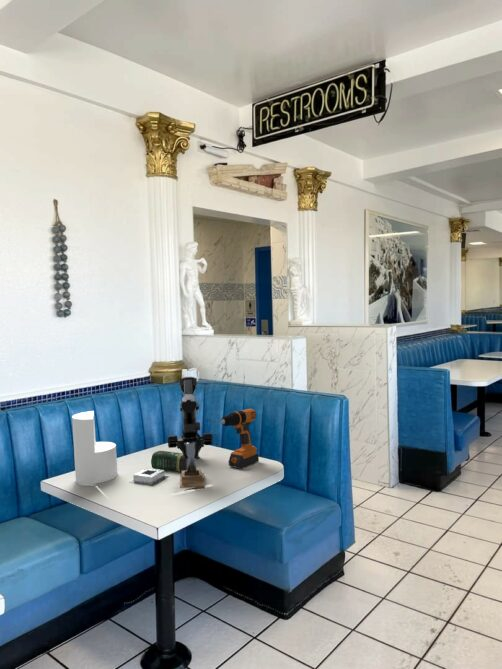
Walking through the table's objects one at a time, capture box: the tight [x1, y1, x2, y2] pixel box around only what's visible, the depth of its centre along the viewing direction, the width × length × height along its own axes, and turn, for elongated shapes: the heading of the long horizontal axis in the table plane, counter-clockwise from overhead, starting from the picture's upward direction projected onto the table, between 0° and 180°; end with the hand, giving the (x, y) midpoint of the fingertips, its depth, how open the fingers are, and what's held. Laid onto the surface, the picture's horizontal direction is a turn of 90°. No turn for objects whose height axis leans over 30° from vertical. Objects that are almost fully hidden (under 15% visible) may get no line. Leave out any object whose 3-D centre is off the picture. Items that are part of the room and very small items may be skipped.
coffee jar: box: [150, 450, 187, 473], centre depth 230 cm, size 10×8×19 cm
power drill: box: [220, 408, 260, 469], centre depth 232 cm, size 22×7×25 cm, turn 140°
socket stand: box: [128, 467, 170, 487], centre depth 216 cm, size 12×12×4 cm
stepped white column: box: [71, 410, 118, 487], centre depth 222 cm, size 17×17×28 cm
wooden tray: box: [179, 468, 206, 491], centre depth 214 cm, size 16×10×4 cm, turn 7°
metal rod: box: [186, 441, 197, 472], centre depth 213 cm, size 4×4×12 cm
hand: (191, 458), depth 212 cm, fingers closed on metal rod, 4 cm apart
